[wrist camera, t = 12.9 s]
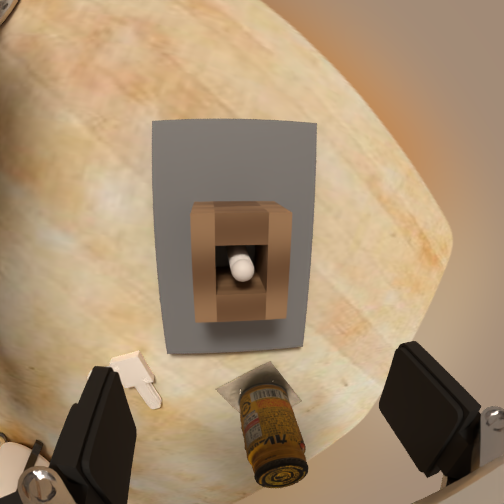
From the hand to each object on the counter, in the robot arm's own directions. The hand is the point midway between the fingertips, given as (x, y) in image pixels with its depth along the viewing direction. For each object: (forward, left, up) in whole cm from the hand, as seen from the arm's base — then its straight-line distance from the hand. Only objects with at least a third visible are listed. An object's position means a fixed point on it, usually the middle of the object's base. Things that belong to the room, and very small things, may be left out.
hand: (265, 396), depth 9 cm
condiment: (+19, +4, -21) cm, 28 cm away
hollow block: (0, +1, -19) cm, 19 cm away
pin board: (0, +1, -20) cm, 20 cm away
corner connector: (+17, -12, -21) cm, 30 cm away
